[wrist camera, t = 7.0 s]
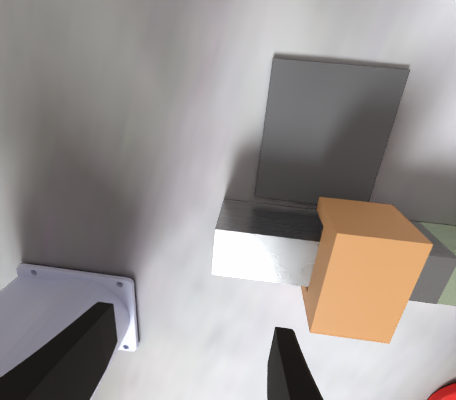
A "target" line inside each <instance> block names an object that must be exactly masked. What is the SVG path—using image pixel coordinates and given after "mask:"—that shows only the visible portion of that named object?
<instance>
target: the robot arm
mask: <svg viewBox="0 0 456 400" xmlns="http://www.w3.org/2000/svg"><path fill="white" fill-rule="evenodd" d="M16 270H17V274H18V277H17V278H15V279H14V280H13V281H12V282H11V283H9V284H8V285H7V286H6V287H5V288H3V289H2V290H1V291H0V400H92V399H93V397H94V395H95V393H96V391H97V389H98V387H99V385H100V383H101V381H102V379H103V377H104V376H105V374H106V372H107V370H108V368H109V366H110V364H111V362H112V360H113V358H114V356H115V354H116V352H117V350H118V349H119V350H125V351H136V350H137V348H138V332H137V318H136V304H135V291H134V282H133V280H132V279H130V278H127V277H120V276H113V275H105V274H98V273H91V272H83V271H76V270H69V269H61V268H54V267H47V266H39V265H32V264H25V263H22V264H20V265H19V266H17V268H16ZM119 282H121V283H122V284H121V283H119ZM267 398H268V400H323V398H322V396H321V394H320V392H319V389H318V387H317V385H316V383H315V381H314V379H313V377H312V375H311V372H310V370H309V368H308V366H307V363H306V361H305V359H304V356H303V354H302V351H301V349H300V346H299V344H298V341H297V338H296V335H295V332H294V331H293V330H292V329H288V328H281V327H275V331H274V336H273V341H272V345H271V350H270V355H269V360H268V374H267Z"/></svg>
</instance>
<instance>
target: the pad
mask: <svg viewBox="0 0 456 400" xmlns="http://www.w3.org/2000/svg"><path fill="white" fill-rule="evenodd" d="M409 72H410V70H407V69H395V68H383V67H371V66H359V65H348V64H336V63H324V62H312V61H300V60H288V59H277V58H273V61H272V69H271V77H270V84H269V92H268V100H267V107H266V115H265V122H264V130H263V138H262V145H261V153H260V161H259V168H258V176H257V184H256V191H255V197H261V198H270V199H278V200H287V201H296V202H304V203H313V204H318V200H319V197H326V198H336V199H345V200H354V201H363V202H368V201H369V198H370V195H371V192H372V189H373V186H374V183H375V179H376V176H377V173H378V170H379V167H380V164H381V160H382V157H383V154H384V151H385V148H386V145H387V141H388V138H389V135H390V132H391V129H392V126H393V122H394V119H395V116H396V113H397V110H398V107H399V103H400V100H401V97H402V94H403V91H404V88H405V84H406V81H407V78H408V75H409Z"/></svg>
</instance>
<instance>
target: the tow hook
mask: <svg viewBox="0 0 456 400" xmlns="http://www.w3.org/2000/svg"><path fill="white" fill-rule="evenodd" d="M428 400H456V383H453V384H451V385H448V386H446V387H444V388H441V389H440V390H438V391H437V392H435V393H434V394H432V395H431V396H430V398H429V399H428Z"/></svg>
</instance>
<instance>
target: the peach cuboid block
mask: <svg viewBox="0 0 456 400" xmlns="http://www.w3.org/2000/svg"><path fill="white" fill-rule="evenodd" d="M316 210H317V212H318V215H319V217H320V219H321V222H322V224H323V226H324V227H323V231H322V235H321V239H320V243H319V247H318V251H317V255H316V259H315V263H314V267H313V271H312V275H311V279H310V283H309V287H305V286H301V289H302V294H303V299H304V305H305V310H306V315H307V320H308V325H309V330H310V333H316V334H324V335H331V336H338V337H345V338H352V339H359V340H367V341H374V342H381V343H388V344H389V343H390V341H391V338H392V336H393V334H394V332H395V329H396V327H397V325H398V323H399V320H400V318H401V316H402V314H403V311H404V309H405V307H406V305H407V303H408V300H409V298H410V296H411V294H412V291H413V289H414V287H415V285H416V282H417V280H418V278H419V276H420V273H421V271H422V269H423V267H424V264H425V262H426V260H427V258H428V255H429V253H430V251H431V249H432V246H433V244H432V243H431V242H430V241H429V240H428V239H427V238H426V237H425V236H424V235H423V234H422V233H421V232H420V231H419V230H418V229H417V228H416V227H415V226H414V225H413V224H412V223H411V222H410V221H409V220H408V219H407V218H406V217H405V216H404V215H403V214H402V213H401V212H400V211H399V210H398V209H397V208H396V207H395V206H394V205H391V204H382V203H372V202H363V201H354V200H345V199H336V198H326V197H319V200H318V205H317V209H316Z"/></svg>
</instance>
